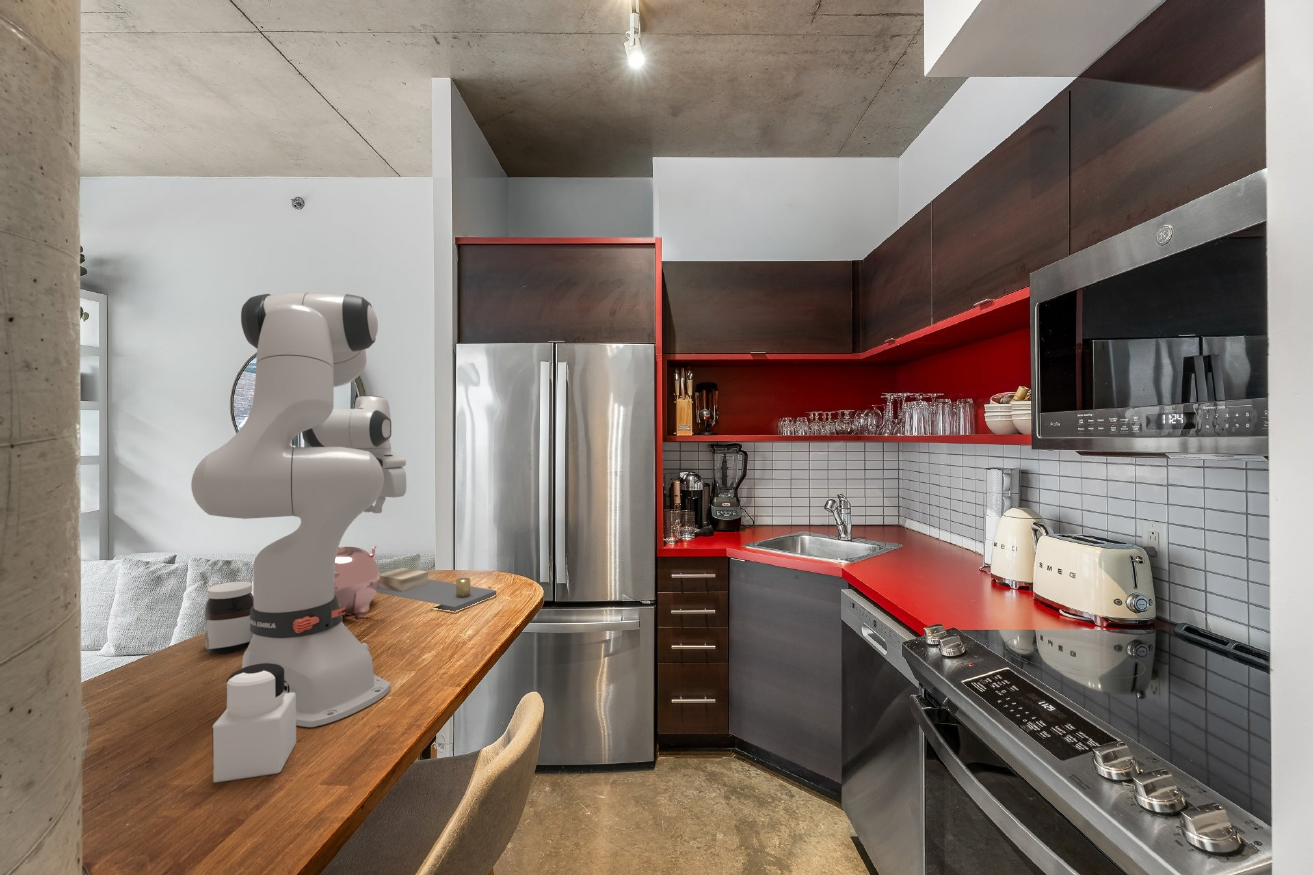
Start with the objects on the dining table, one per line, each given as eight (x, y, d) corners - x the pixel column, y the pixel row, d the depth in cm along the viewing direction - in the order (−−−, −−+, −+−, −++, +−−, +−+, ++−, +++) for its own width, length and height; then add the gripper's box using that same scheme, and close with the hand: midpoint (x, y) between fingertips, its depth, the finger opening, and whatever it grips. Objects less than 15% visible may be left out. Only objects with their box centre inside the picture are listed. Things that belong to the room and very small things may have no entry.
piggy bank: (285, 613, 130) (285, 542, 130) (374, 600, 140) (374, 534, 140) (287, 635, 117) (286, 556, 117) (385, 619, 127) (384, 546, 127)
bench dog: (473, 595, 140) (473, 578, 140) (463, 598, 137) (463, 581, 137) (462, 593, 141) (462, 576, 141) (453, 596, 139) (453, 580, 138)
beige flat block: (427, 583, 149) (427, 571, 149) (402, 591, 142) (402, 579, 142) (402, 579, 153) (402, 567, 153) (376, 586, 146) (376, 574, 146)
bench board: (496, 596, 144) (496, 590, 144) (454, 613, 131) (454, 606, 131) (407, 581, 157) (407, 575, 157) (361, 595, 144) (361, 589, 144)
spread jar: (203, 644, 112) (202, 584, 112) (272, 630, 120) (272, 574, 119) (208, 664, 103) (208, 599, 103) (283, 648, 111) (283, 587, 110)
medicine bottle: (234, 751, 77) (234, 661, 76) (296, 743, 79) (296, 655, 78) (211, 784, 70) (210, 685, 70) (280, 774, 72) (279, 677, 72)
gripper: (333, 458, 153) (334, 511, 153) (390, 461, 144) (390, 517, 144) (355, 457, 158) (355, 507, 159) (410, 459, 150) (410, 513, 150)
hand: (372, 512), depth 152 cm, fingers closed
